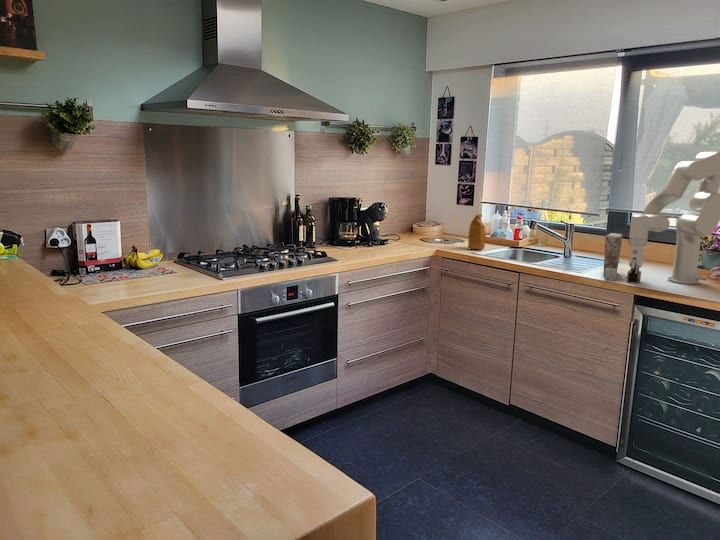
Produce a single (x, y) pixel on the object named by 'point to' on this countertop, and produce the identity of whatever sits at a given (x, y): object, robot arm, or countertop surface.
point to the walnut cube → (637, 276)
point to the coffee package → (477, 234)
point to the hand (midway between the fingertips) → (633, 280)
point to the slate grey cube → (610, 273)
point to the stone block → (612, 250)
